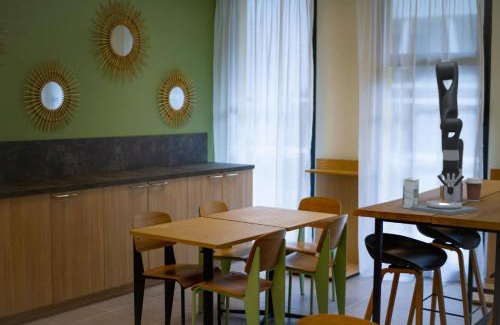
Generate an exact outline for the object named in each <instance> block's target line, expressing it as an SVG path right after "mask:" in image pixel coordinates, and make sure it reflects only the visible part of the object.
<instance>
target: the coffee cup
mask: <svg viewBox="0 0 500 325" xmlns="http://www.w3.org/2000/svg"><path fill="white" fill-rule="evenodd" d="M464 183H465V185H466V186H465V187H466V200H468V202H481V192H482V191H481V190H482V185H483V183H484V181H482V179H481V178H480V177H467V178H466V180H465V181H464Z"/></svg>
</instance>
